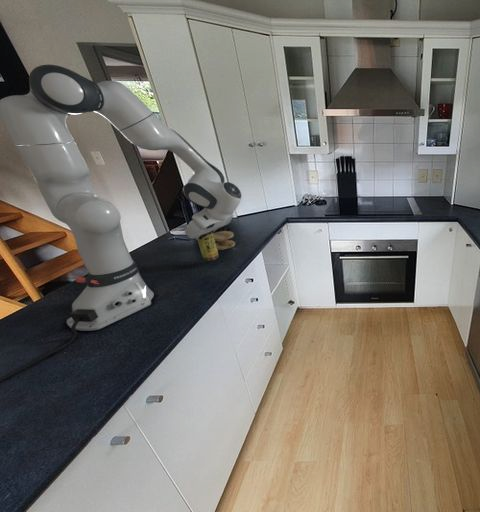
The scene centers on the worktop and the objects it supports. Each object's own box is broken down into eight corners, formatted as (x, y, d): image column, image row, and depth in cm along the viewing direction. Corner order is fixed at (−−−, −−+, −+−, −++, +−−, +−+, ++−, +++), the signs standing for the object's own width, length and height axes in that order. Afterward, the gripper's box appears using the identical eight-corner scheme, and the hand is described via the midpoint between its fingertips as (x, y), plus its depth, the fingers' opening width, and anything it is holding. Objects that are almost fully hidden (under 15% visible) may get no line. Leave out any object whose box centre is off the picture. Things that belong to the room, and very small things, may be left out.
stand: (224, 251, 136) (221, 239, 133) (206, 248, 139) (203, 237, 136) (240, 242, 146) (237, 232, 143) (223, 240, 148) (220, 230, 145)
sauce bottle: (212, 262, 119) (198, 219, 110) (200, 261, 120) (185, 218, 111) (223, 256, 125) (211, 214, 116) (211, 254, 126) (198, 213, 117)
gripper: (229, 203, 120) (217, 222, 126) (188, 216, 102) (176, 237, 108) (240, 213, 121) (227, 232, 127) (201, 228, 103) (188, 249, 109)
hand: (203, 234), depth 118 cm, fingers closed on sauce bottle, 6 cm apart
